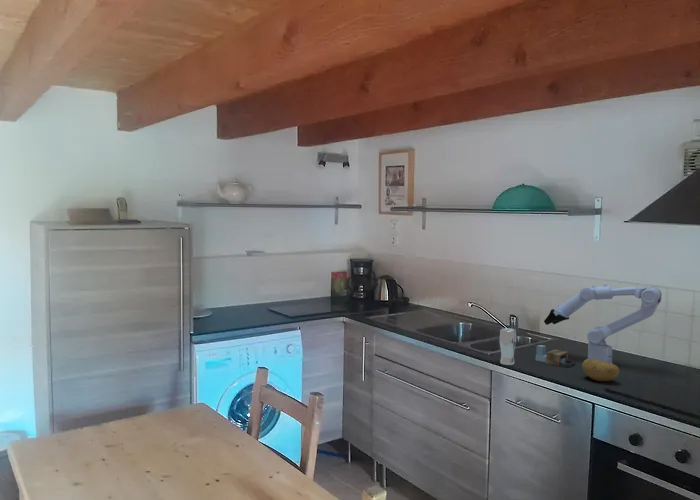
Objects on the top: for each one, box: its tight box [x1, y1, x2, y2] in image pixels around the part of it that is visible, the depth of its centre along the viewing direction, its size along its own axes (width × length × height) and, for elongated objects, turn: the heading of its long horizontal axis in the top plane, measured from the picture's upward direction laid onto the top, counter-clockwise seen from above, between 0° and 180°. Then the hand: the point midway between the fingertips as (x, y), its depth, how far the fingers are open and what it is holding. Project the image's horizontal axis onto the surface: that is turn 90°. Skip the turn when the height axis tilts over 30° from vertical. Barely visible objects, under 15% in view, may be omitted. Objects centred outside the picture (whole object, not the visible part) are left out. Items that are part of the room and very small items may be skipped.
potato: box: [581, 358, 620, 382], centre depth 229 cm, size 10×14×8 cm
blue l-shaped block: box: [535, 344, 566, 364], centre depth 257 cm, size 12×4×6 cm, turn 44°
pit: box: [559, 359, 576, 368], centre depth 251 cm, size 3×7×1 cm, turn 134°
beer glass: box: [499, 327, 517, 366], centre depth 254 cm, size 7×7×15 cm
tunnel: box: [545, 349, 569, 367], centre depth 254 cm, size 6×8×5 cm
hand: (548, 322), depth 267 cm, fingers open, 7 cm apart
